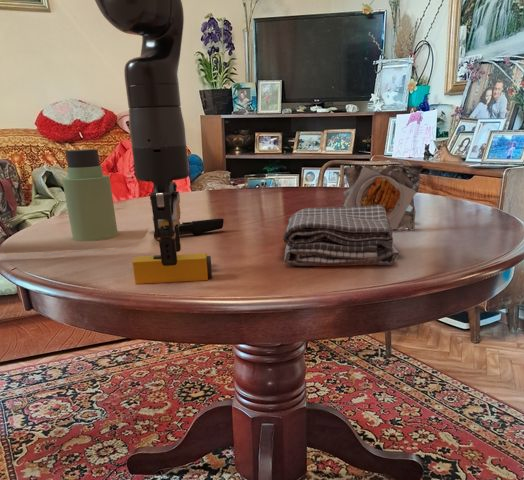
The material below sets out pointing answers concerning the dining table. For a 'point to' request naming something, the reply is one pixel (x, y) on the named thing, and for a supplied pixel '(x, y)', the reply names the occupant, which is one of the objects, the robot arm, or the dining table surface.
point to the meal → (385, 190)
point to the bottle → (88, 197)
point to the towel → (339, 237)
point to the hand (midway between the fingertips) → (172, 258)
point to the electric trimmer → (199, 226)
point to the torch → (172, 269)
